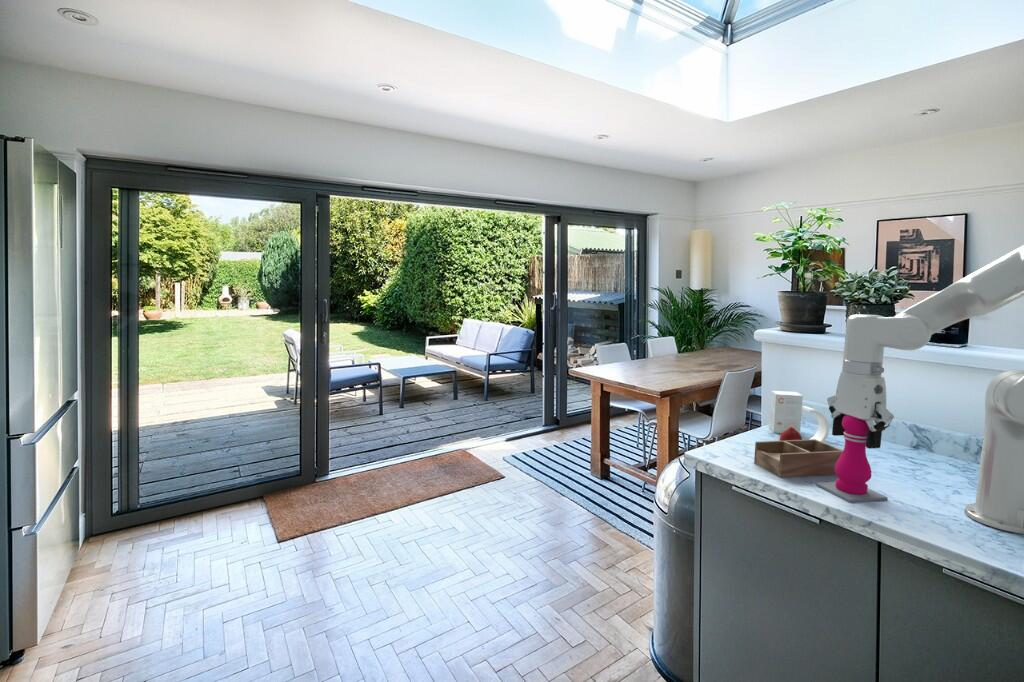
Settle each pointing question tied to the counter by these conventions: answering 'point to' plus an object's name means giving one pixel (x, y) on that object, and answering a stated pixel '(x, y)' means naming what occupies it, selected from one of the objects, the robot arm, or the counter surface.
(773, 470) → the box
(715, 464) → the counter surface
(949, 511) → the counter surface
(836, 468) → the pepper mill
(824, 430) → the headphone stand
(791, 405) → the small box
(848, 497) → the mat
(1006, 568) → the counter surface
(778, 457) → the upper offcut
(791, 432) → the onion
